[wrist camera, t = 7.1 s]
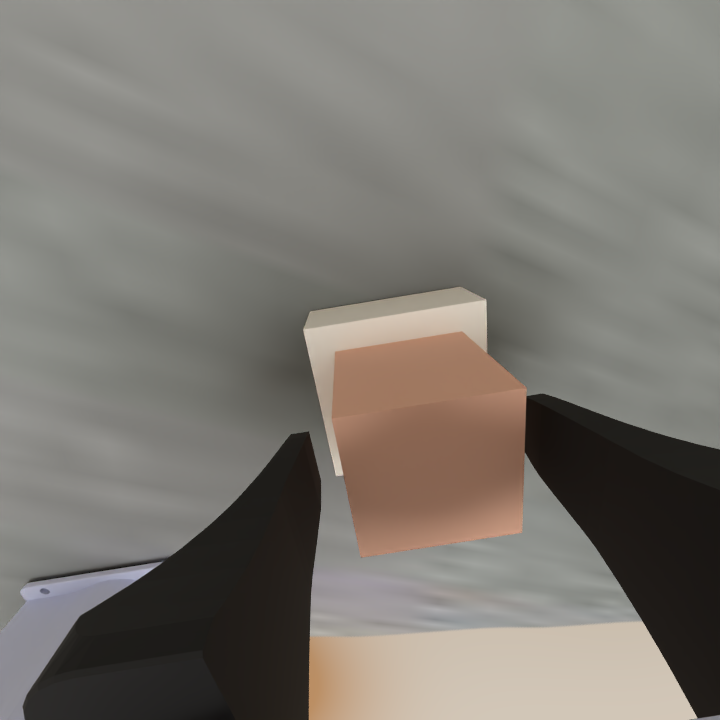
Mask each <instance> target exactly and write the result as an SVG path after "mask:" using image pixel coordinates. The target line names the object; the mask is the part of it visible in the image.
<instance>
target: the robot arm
mask: <svg viewBox="0 0 720 720" xmlns="http://www.w3.org/2000/svg"><path fill="white" fill-rule="evenodd" d="M525 453H526V455H527V456H528V458H529V460H530V462H531V463H532V465H533V466H534V468H535V470H536V471H537V473H538V474H539V476H540V477H541V478H542V480H543V481H544V482H545V484H546V485H547V486H548V487H549V489H550V490H551V491H552V492H553V494H554V495H555V496H556V498H557V499H558V500H559V501H560V503H561V504H562V505H563V506H564V507H565V509H566V510H567V511H568V512H569V514H570V515H571V516H572V517H573V519H574V520H575V521H576V522H577V524H578V525H579V526H580V527H581V529H582V530H583V531H584V532H585V534H586V535H587V536H588V538H589V539H590V540H591V542H592V543H593V545H594V546H595V547H596V549H597V550H598V552H599V553H600V555H601V556H602V558H603V559H604V561H605V562H606V564H607V565H608V567H609V568H610V570H611V571H612V573H613V575H614V576H615V578H616V579H617V581H618V582H619V584H620V585H621V587H622V589H623V590H624V592H625V593H626V595H627V597H628V598H629V600H630V601H631V603H632V605H633V606H634V608H635V610H636V611H637V613H638V614H639V616H640V618H641V619H642V621H643V623H644V624H645V626H646V628H647V629H648V631H649V633H650V634H651V636H652V638H653V640H654V641H655V643H656V645H657V646H658V648H659V650H660V651H661V653H662V655H663V657H664V658H665V660H666V662H667V664H668V665H669V667H670V669H671V671H672V672H673V674H674V676H675V678H676V680H677V681H678V683H679V685H680V687H681V689H682V690H683V692H684V694H685V696H686V698H687V699H688V701H689V703H690V705H691V707H692V709H693V711H694V712H695V714H696V716H697V719H691V720H720V450H719V449H715V448H710V447H706V446H702V445H698V444H694V443H691V442H687V441H683V440H679V439H675V438H672V437H668V436H665V435H661V434H658V433H654V432H651V431H648V430H645V429H642V428H639V427H636V426H633V425H630V424H627V423H624V422H621V421H618V420H615V419H612V418H610V417H607V416H604V415H601V414H599V413H596V412H593V411H591V410H588V409H585V408H583V407H580V406H577V405H575V404H572V403H569V402H567V401H564V400H561V399H558V398H555V397H552V396H549V395H546V394H537V395H531V396H526V422H525ZM320 512H321V479H320V475H319V471H318V467H317V463H316V459H315V455H314V451H313V446H312V442H311V438H310V434H309V432H303V433H297V434H291V435H290V436H289V437H288V439H287V440H286V441H285V442H284V444H283V445H282V446H281V448H280V449H279V450H278V452H277V453H276V454H275V455H274V457H273V458H272V459H271V461H270V462H269V463H268V464H267V466H266V467H265V468H264V469H263V471H262V472H261V473H260V474H259V475H258V477H257V478H256V479H255V480H254V481H253V482H252V483H251V484H250V486H249V487H248V488H247V489H246V490H245V491H244V492H243V493H242V495H241V496H240V497H239V498H238V499H237V500H236V501H235V502H234V503H233V504H232V505H231V506H230V507H229V508H228V509H227V510H226V511H225V512H223V513H222V514H221V515H220V516H219V517H218V518H217V519H216V520H215V521H214V522H213V523H212V524H210V525H209V526H208V527H207V528H206V529H204V530H203V531H202V532H201V533H200V534H198V535H197V536H196V537H195V538H193V539H192V540H191V541H190V542H189V543H187V544H186V545H185V546H184V547H183V548H181V549H180V550H179V551H177V552H176V553H175V554H173V555H172V556H171V557H169V558H168V559H167V560H165V561H163V562H157V563H151V564H144V565H138V566H132V567H125V568H119V569H113V570H106V571H100V572H94V573H87V574H81V575H74V576H68V577H62V578H55V579H49V580H43V581H36V582H30V583H27V584H26V585H25V586H24V587H23V588H22V589H21V590H20V593H21V595H22V597H23V598H24V599H25V601H26V602H25V603H24V605H23V606H22V607H21V608H20V609H19V611H18V612H17V613H16V614H15V615H14V617H13V618H12V619H11V620H10V621H9V622H8V624H7V625H6V626H5V627H4V628H3V630H2V631H1V632H0V720H309V712H308V711H309V710H308V709H309V641H310V607H311V587H312V576H313V568H314V560H315V552H316V545H317V537H318V529H319V521H320Z"/></svg>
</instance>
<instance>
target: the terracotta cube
mask: <svg viewBox="0 0 720 720" xmlns="http://www.w3.org/2000/svg"><path fill="white" fill-rule="evenodd" d="M526 390H527V388H526V387H525V386H524V385H523V384H522V383H520V382H519V381H518V380H517V379H516V378H515V377H514V376H512V375H511V374H510V373H509V372H508V371H507V370H506V369H505V368H503V367H502V366H501V365H500V364H499V363H498V362H497V361H495V360H494V359H493V358H492V357H491V356H490V355H489V354H487V353H486V352H485V351H484V350H483V349H482V348H481V347H479V346H478V345H477V344H476V343H475V342H474V341H473V340H471V339H470V338H469V337H468V336H467V335H466V334H465V333H463V332H462V331H461V332H454V333H448V334H442V335H436V336H430V337H423V338H417V339H411V340H405V341H398V342H392V343H386V344H380V345H373V346H367V347H361V348H355V349H349V350H342V351H336V352H335V363H334V382H333V402H332V423H333V428H334V432H335V437H336V442H337V447H338V451H339V456H340V461H341V466H342V470H343V475H344V480H345V484H346V489H347V494H348V499H349V503H350V508H351V513H352V518H353V522H354V527H355V532H356V536H357V541H358V546H359V551H360V555H361V558H362V557H368V556H374V555H381V554H387V553H394V552H400V551H407V550H413V549H420V548H426V547H433V546H439V545H445V544H452V543H458V542H465V541H471V540H478V539H484V538H491V537H497V536H504V535H510V534H516V533H522V516H523V485H524V453H525V422H526Z"/></svg>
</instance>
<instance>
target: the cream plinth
mask: <svg viewBox="0 0 720 720" xmlns="http://www.w3.org/2000/svg"><path fill="white" fill-rule="evenodd" d="M303 331H304V335H305V340H306V344H307V349H308V353H309V358H310V362H311V367H312V371H313V375H314V380H315V384H316V389H317V393H318V398H319V402H320V407H321V411H322V415H323V420H324V424H325V429H326V433H327V438H328V442H329V447H330V451H331V456H332V460H333V464H334V469H335V473H336V476H341V475H343V470H342V466H341V461H340V456H339V451H338V447H337V442H336V437H335V432H334V428H333V423H332V402H333V382H334V363H335V352H336V351H342V350H349V349H355V348H361V347H367V346H373V345H380V344H386V343H392V342H398V341H405V340H411V339H417V338H423V337H430V336H436V335H442V334H448V333H454V332H461V331H462V332H463V333H465V334H466V335H467V336H468V337H469V338H470V339H471V340H473V341H474V342H475V343H476V344H477V345H478V346H479V347H481V348H482V349H483V350H484V351H485V352H486V353H487V311H486V299H484V298H482V297H480V296H478V295H476V294H474V293H472V292H470V291H468V290H466V289H464V288H462V287H455V288H449V289H443V290H437V291H431V292H425V293H419V294H413V295H407V296H400V297H394V298H388V299H382V300H376V301H370V302H364V303H358V304H352V305H346V306H340V307H333V308H327V309H321V310H315V311H310V313H309V315H308V318H307V321H306V324H305V326H304V329H303Z"/></svg>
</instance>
